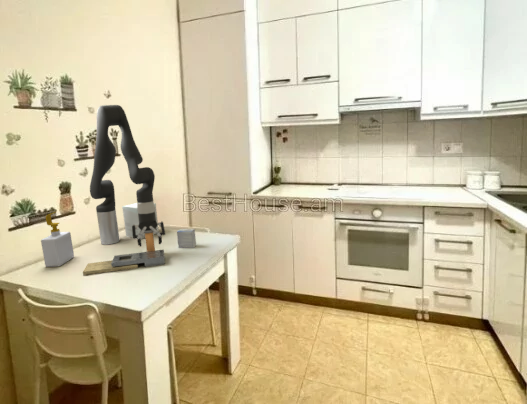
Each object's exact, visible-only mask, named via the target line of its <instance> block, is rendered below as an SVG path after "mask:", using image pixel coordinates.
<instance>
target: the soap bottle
mask: <svg viewBox="0 0 527 404" xmlns="http://www.w3.org/2000/svg"><path fill="white" fill-rule="evenodd" d="M55 213H56V211H53V212H52V213H49V214H46V215H45V222H46V225H47V226H50V228H52V229H50V235H48V236H47V237H44V238H42V239H41V240H40V242H41V250H42V255H43V260H44V261H43V262H44V266H45V267H48V268H49V267H50V268H51V267H52V268H53V267H60V266H62V265H64V264H66V263H67V262H69V261H70V260H71V259H74V257H75V253H74V248H73V242H72V235H71V232H70V231H60V228H58V226H59V224H60V222H53V221H52V214H55Z"/></svg>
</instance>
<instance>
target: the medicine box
mask: <svg viewBox="0 0 527 404" xmlns="http://www.w3.org/2000/svg"><path fill="white" fill-rule="evenodd" d="M195 231H196V229H195V228H180V229H178V230H177V231H176V236H177V244H178V246H177V247H178V249H184V248H185V249H186V248H188V249H189V248H193V249H194V248H195V247H196V245H197V240H196V239H197V238H196V232H195Z"/></svg>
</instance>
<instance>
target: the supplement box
mask: <svg viewBox="0 0 527 404" xmlns="http://www.w3.org/2000/svg"><path fill="white" fill-rule="evenodd" d="M154 206H155V215H156V222H157V223H159V222H158V214H157V213H158V212H157V211H158V210H157V204H156V203H154ZM121 208H122V214H123V215H122V216H123V223H124V230H125V237H128V238H133V233H132V226H133V225H139V218H138V211H137V210H138V209H137V202H135V203H132V204H126V205H122V206H121ZM156 229H157V230H158V231H159V225H157V227H156ZM140 231H141V229H140V228H139V227H138V228H137V230H136V235H138V234H139V233H140ZM159 232H160V231H159ZM154 235H157V234H156V233H155V232H153V236H154ZM140 238H141V240H142V239H145V233H143V234H142V236H141V237H140Z"/></svg>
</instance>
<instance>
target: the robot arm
mask: <svg viewBox="0 0 527 404" xmlns="http://www.w3.org/2000/svg"><path fill="white" fill-rule="evenodd" d="M128 120H129V119H128V117H127V114H126V112H125V109H123V107H122V106H121V105H119V104H103V105H100V106H99V107H98V108H97V110H96V136H95V137H96V140H95V148H94V156H93V157H94V158H93V169H92V174H91V179H90V185H89V194H90V196H91V198H92V199H93V200H94V199H95V200H101V199H102V200H103V199H104V201H102V202H101V203H100V204H98V205H97V206H96V208H95V212H96V217H97V225H98V230H99V231H98V232H99V239H100V244H101V245H113V244H117V243H119V242H120V234H119V233H120V232H119V226H118V218H117V209H116V195H115V186H114V183H113V182H112V180H111V179H104V180H103V178H104V176H105V175H106V174H107V173H108V172H109V171H110V170H111V168H112V167H113V165H114V164H115V161H116V152H117V150H116V147H115V145H114V143H113V142H112V139H111V138H110V136H109V128H110V127H114V126H115V127H117V126H118V128H119V129H120V132H121V141H120V150H121V153H122V156H123V157H124V160H125V162H126V163H127V169H128V175H129V178H130V180H131V182H132V183H133V184H135V185H142V186H141V187H140V188H139V189H137V190H136V193H135V194H136V203H137V209H138V210H137V211H138V218H139V225H133V226H132V233H133V237H132V239H137V246H139V247H142V245H143V244H142V239H141V238H140V237H141V236H142V234H143V233H144V231H148V230H153V231H154V232H155V233H156V234H155V235H157V236H158V245H161V243H162V242H163V240H162V237H163V236H164V235H166V231H165V223H164V221H162V220H161V221H160V222H158V223H157V222H156V215H155V206H154V202H155V201H154V196H153V190H154V185H155V179H156V178H155V172H154V170H153V169H152V168H151V167H148V166H146V167H139V166H140V165H141V164H142V163H143V161H144V158H143V156H142V154H141V152H140V150H139V148H138V146H137V144H136V142H135V140H134V136H133V134H132V133H133V132H132V129H131V125H130V123H129V121H128ZM157 225H158V228H159V227H160V228H161V231H158V230H157V229H156V227H157ZM138 227H139V228H140V229H141V231H140V233H139V234H138V235H136V230H137V228H138Z"/></svg>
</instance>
